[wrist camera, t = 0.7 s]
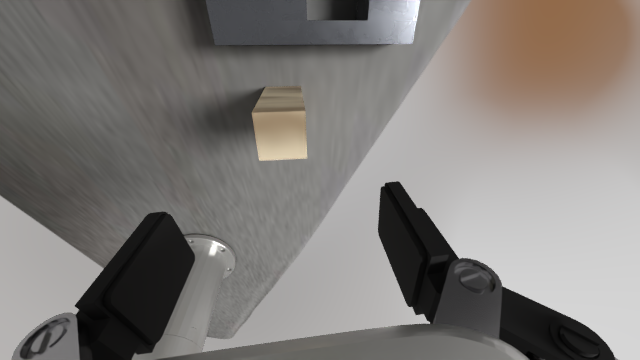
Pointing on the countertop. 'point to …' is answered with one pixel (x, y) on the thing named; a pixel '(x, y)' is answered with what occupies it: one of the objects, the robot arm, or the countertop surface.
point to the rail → (310, 23)
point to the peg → (280, 124)
